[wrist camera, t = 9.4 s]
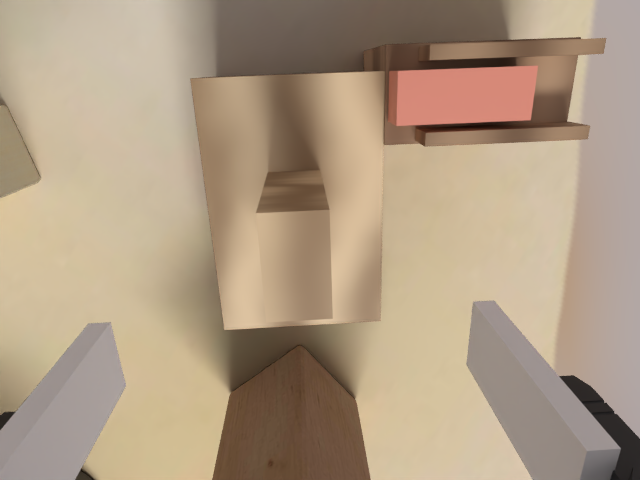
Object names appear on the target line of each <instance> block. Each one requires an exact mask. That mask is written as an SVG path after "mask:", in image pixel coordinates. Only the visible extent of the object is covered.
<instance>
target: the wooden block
mask: <svg viewBox="0 0 640 480" xmlns="http://www.w3.org/2000/svg"><path fill="white" fill-rule="evenodd" d="M212 480H370V474H369V468H368V463H367V457H366V452H365V446H364V441H363V435H362V430H361V424H360V419H359V413H358V408H357V403H356V400H355V399H354V398H353V397H352V396H351V395H350V394H349V393H348V392H347V391H346V390H345V389H344V388H343V387H342V386H341V385H340V384H339V383H338V382H337V381H336V380H335V379H334V378H333V377H332V376H331V375H330V374H329V373H328V372H327V371H326V370H325V369H324V368H323V367H322V365H321V364H320V363H319V362H318V361H317V360H316V359H315V358H314V357H313V356H312V355H311V354H310V353H309V352H308V351H307V350H306V349H305V348H304V347H303V346H301V345H299V346H297V347H296V348H294V349H293V350H291V351H290V352H289V353H287V354H286V355H284V356H283V357H281V358H280V359H279V360H277V361H276V362H274V363H273V364H271V365H270V366H269V367H267V368H266V369H264V370H263V371H261V372H260V373H259V374H257V375H256V376H254V377H253V378H252V379H250V380H249V381H247V382H246V383H244V384H243V385H242V386H240V387H239V388H237V389H236V390H234V391H233V392H232V393H231V394H230V397H229V401H228V406H227V411H226V416H225V421H224V426H223V430H222V435H221V440H220V445H219V450H218V455H217V459H216V464H215V469H214V474H213V479H212Z"/></svg>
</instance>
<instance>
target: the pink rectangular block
mask: <svg viewBox="0 0 640 480" xmlns="http://www.w3.org/2000/svg"><path fill="white" fill-rule="evenodd" d="M537 71H538V66H505V67H480V68H454V69H428V70H402V71H389V104H388V122H390V123H392V124H394V125H396V126H408V125H431V124H454V123H478V122H501V121H524V120H531V115H532V108H533V100H534V93H535V86H536V78H537Z"/></svg>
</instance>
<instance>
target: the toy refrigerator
mask: <svg viewBox="0 0 640 480" xmlns="http://www.w3.org/2000/svg"><path fill="white" fill-rule="evenodd" d="M39 181H40V176H39V174H38V172H37V170H36V167H35V165H34V163H33V161H32V159H31V157H30V155H29V153H28V150H27V148H26V146H25V144H24V142H23V140H22V137H21V135H20V133H19V131H18V129H17V127H16V125H15V123H14V120H13V118H12V116H11V114H10V112H9V110H8V108H7V107H6V106H5V105H0V198H2V197H5V196H7V195H10V194H12V193H14V192H17V191H19V190H22V189H24V188H26V187H29V186H31V185H34V184H36V183H38V182H39Z"/></svg>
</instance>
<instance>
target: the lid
mask: <svg viewBox="0 0 640 480" xmlns="http://www.w3.org/2000/svg"><path fill="white" fill-rule="evenodd" d="M190 80H191V87H192V95H193V102H194V109H195V117H196V124H197V132H198V139H199V146H200V154H201V161H202V168H203V176H204V183H205V191H206V198H207V205H208V213H209V220H210V228H211V235H212V242H213V250H214V257H215V264H216V272H217V279H218V287H219V294H220V301H221V309H222V316H223V324H224V330H234V329H251V328H268V327H285V326H302V325H320V324H337V323H354V322H371V321H381V268H382V210H383V152H384V94H385V71H371V72H346V73H320V74H294V75H268V76H242V77H216V78H192V79H190Z"/></svg>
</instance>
